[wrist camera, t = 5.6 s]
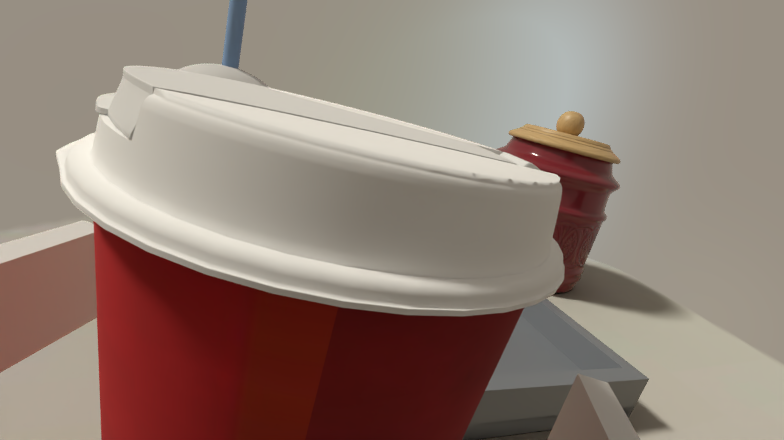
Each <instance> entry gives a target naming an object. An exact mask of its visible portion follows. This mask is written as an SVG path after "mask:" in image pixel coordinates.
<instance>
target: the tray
mask: <svg viewBox="0 0 784 440" xmlns="http://www.w3.org/2000/svg"><path fill="white" fill-rule="evenodd" d="M577 374H581V375H585V376H588V377H591V378H594V379H597V380H601V381H604V382H607V383H608V384H609V385H610V387H611V389H612V391H613V392H614V394H615V396H616V398H617V399H618V401H619V403H620V405H621V406H622V408H623V410H624V412H625V413H626V415H627V417H628V418H629V416H630V414H631V412H632V410H633V408H634V406H635V404H636V402H637V401H638V399H639V397H640V395H641V393H642V391H643V389H644V387H645V385H646V384H647V382H648V380H649V379H648V378H647V377H646V376H645V375H643V374H642V373H641V372H639V371H638V370H637V369H636V368H634V367H633V366H632V365H631V364H629V363H628V362H627V361H625V360H624V359H623V358H622V357H620V356H619V355H618V354H616V353H615V352H614V351H613V350H611V349H610V348H609V347H607V346H606V345H605V344H604V343H602V342H601V341H600V340H598V339H597V338H596V337H595V336H593V335H592V334H591V333H590V332H588V331H587V330H586V329H584V328H583V327H582V326H581V325H579V324H578V323H577V322H575V321H574V320H573V319H572V318H570V317H569V316H568V315H566V314H565V313H564V312H563V311H561V310H560V309H559V308H557V307H556V306H555V305H554V304H552V303H551V302H550V301H549V300H547V299H545V300H543V301H541V302H539V303H538V304H536V305H532V306H528V307H525V308H524V309H523V311H522V314H521V316H520V318H519V320H518V322H517V324H516V326H515V328H514V331H513V333H512V335H511V337H510V339H509V341H508V343H507V345H506V348H505V350H504V352H503V354H502V356H501V358H500V360H499V362H498V364H497V367H496V369H495V371H494V373H493V375H492V377H491V379H490V381H489V384H488V386H487V388H486V390H485V392H484V394H483V396H482V398H481V401H480V403H479V405H478V407H477V409H476V411H475V413H474V415H473V418H472V420H471V422H470V424H469V426H468V428H467V430H466V432H465V434H464V437H463V439H462V440H477V439H484V438H492V437H499V436H507V435H514V434H522V433H530V432H537V431H545V430H552V428H553V426H554V424H555V421H556V419H557V417H558V415H559V413H560V411H561V408H562V406H563V404H564V402H565V400H566V398H567V396H568V393H569V391H570V389H571V387H572V385H573V383H574V380H575V378H576V376H577Z"/></svg>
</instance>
